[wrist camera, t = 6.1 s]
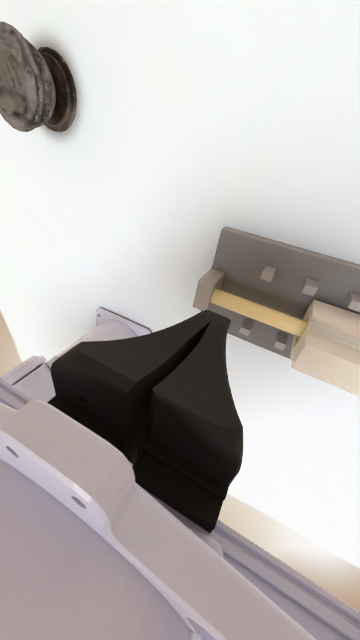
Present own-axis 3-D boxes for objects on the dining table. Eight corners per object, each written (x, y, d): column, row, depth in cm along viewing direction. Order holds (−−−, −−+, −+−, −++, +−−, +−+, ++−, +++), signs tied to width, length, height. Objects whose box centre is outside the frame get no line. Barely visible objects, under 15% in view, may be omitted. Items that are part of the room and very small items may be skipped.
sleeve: (346, 354, 19) (352, 403, 15) (293, 334, 20) (287, 374, 16) (373, 319, 17) (389, 365, 13) (313, 299, 18) (311, 335, 14)
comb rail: (362, 381, 21) (370, 421, 18) (202, 316, 25) (184, 339, 22) (445, 290, 16) (478, 322, 12) (225, 226, 20) (206, 238, 16)
